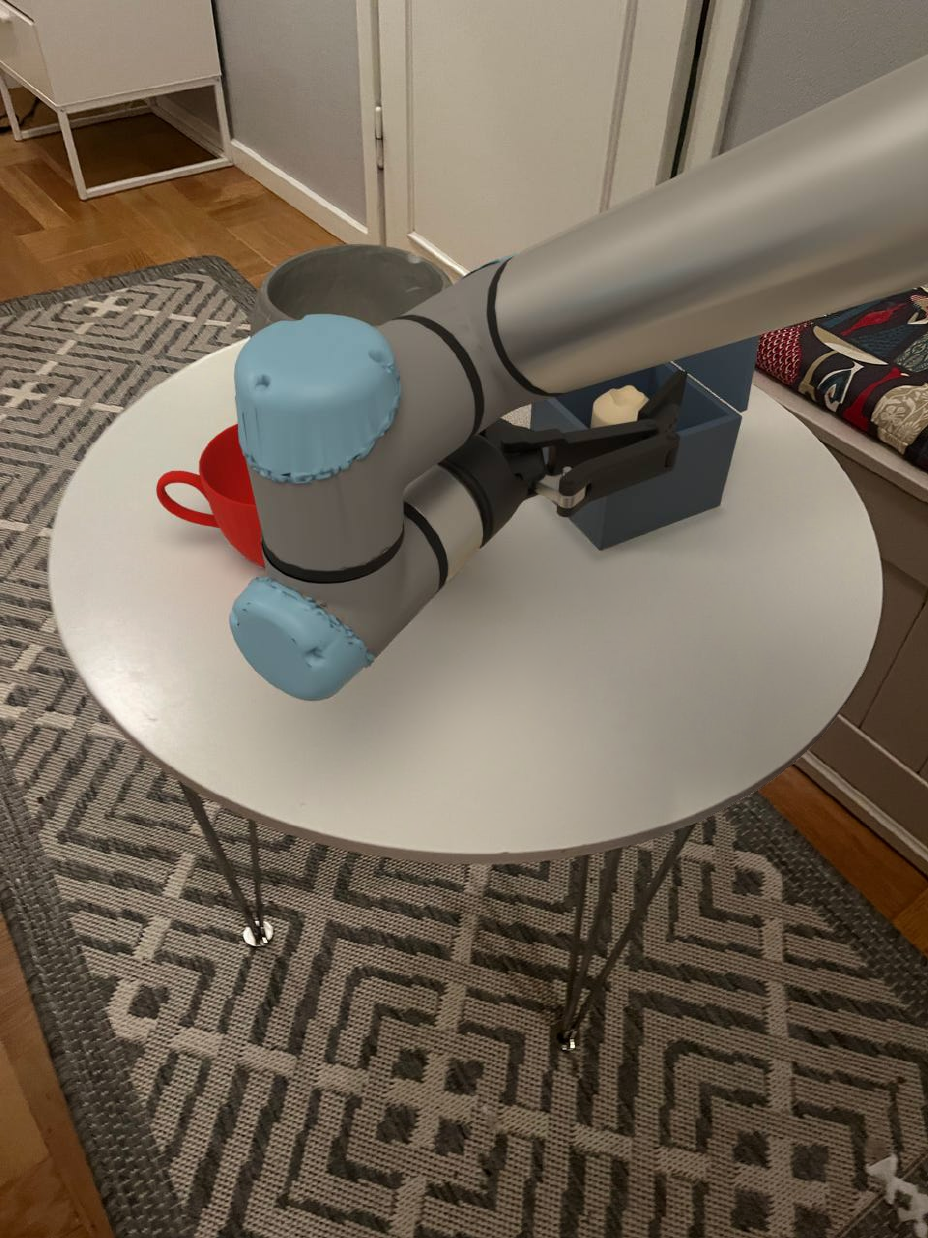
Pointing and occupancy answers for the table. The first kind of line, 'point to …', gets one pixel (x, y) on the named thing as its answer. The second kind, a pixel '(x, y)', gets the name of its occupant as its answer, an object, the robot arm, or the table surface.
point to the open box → (666, 496)
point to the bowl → (347, 285)
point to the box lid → (725, 370)
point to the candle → (617, 406)
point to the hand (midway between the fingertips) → (597, 359)
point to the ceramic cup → (221, 494)
